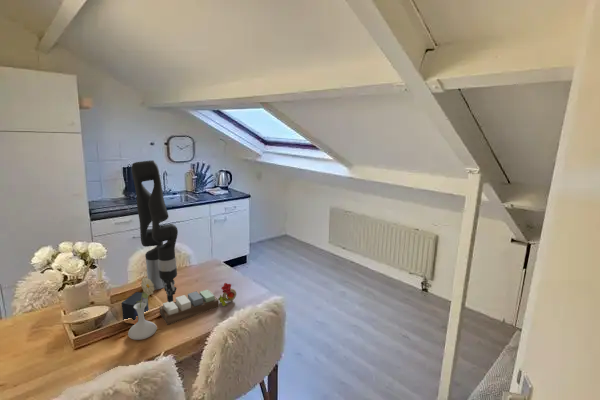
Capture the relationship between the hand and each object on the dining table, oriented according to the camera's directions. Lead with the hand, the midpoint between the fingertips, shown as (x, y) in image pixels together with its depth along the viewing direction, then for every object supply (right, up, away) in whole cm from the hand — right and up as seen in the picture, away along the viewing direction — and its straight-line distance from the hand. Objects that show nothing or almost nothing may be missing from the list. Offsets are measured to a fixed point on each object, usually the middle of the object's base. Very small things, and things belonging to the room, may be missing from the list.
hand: (170, 301), depth 156 cm
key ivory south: (0, -6, +1) cm, 7 cm away
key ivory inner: (+5, -5, +5) cm, 8 cm away
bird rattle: (+23, -5, +15) cm, 28 cm away
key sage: (+14, -4, +12) cm, 19 cm away
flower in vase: (-7, -11, -10) cm, 17 cm away
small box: (-16, -8, +1) cm, 18 cm away
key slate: (+9, -4, +8) cm, 13 cm away
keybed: (+7, -7, +7) cm, 12 cm away
